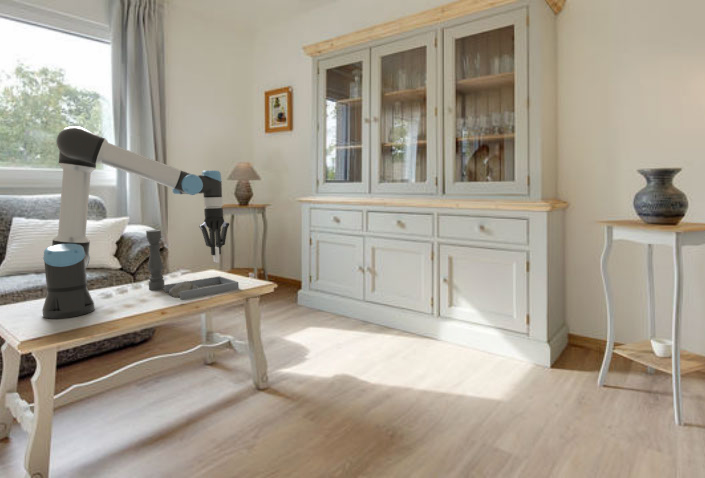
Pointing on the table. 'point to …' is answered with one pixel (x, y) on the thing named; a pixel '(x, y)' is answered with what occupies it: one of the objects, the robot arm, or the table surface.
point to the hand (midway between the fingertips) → (216, 262)
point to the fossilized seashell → (182, 288)
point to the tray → (225, 286)
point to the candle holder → (155, 260)
